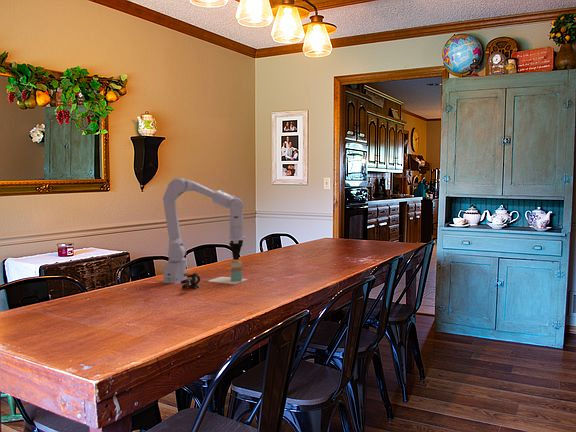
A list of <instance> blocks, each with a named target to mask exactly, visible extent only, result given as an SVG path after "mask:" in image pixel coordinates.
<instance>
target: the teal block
mask: <svg viewBox="0 0 576 432" xmlns="http://www.w3.org/2000/svg"><path fill="white" fill-rule="evenodd" d="M230 278H231V281H242V279H243V271H242V272H231V271H230ZM242 282H243V281H242Z"/></svg>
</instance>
